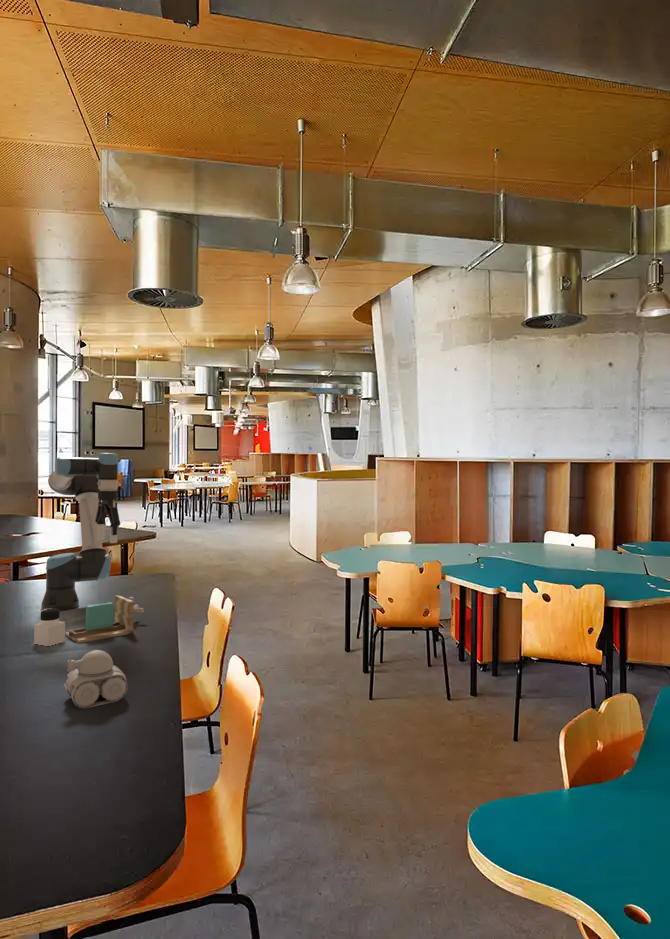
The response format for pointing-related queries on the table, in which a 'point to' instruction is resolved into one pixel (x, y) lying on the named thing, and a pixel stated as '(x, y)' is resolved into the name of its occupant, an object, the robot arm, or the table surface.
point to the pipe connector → (136, 606)
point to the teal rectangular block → (99, 616)
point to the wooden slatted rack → (120, 627)
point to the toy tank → (94, 680)
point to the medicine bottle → (49, 628)
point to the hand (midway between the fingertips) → (107, 541)
